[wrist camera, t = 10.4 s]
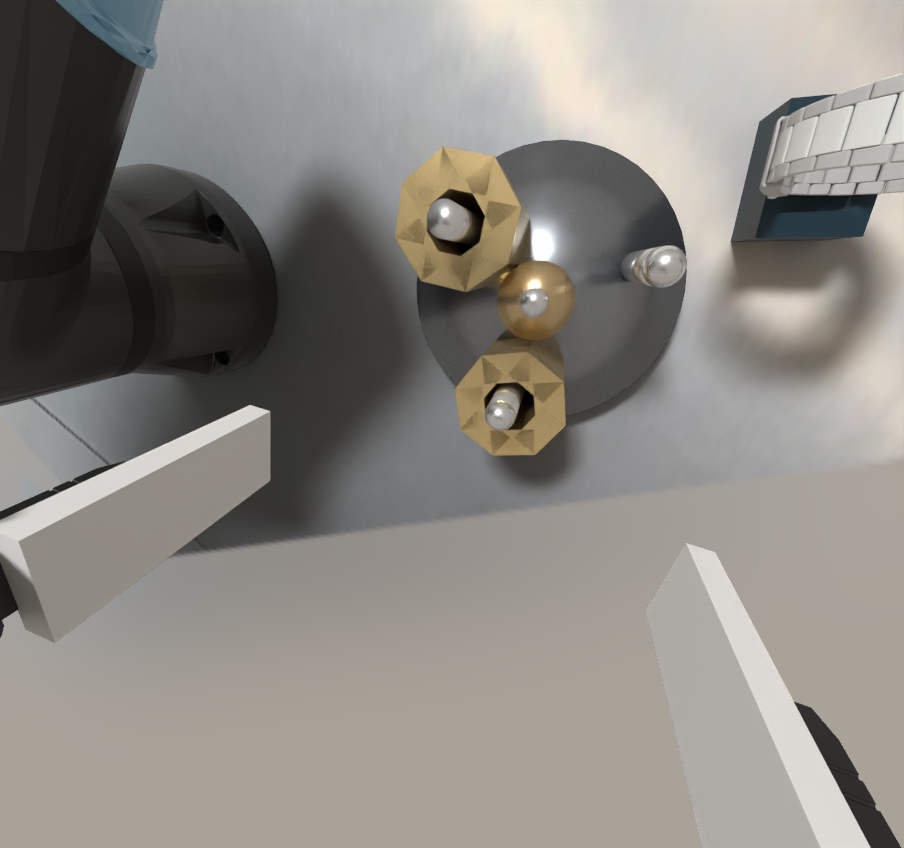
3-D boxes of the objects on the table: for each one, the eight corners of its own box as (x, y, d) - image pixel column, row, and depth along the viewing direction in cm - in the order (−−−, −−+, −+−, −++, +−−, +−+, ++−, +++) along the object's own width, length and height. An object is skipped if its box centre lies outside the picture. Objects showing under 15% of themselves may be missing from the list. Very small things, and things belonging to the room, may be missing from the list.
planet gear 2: (480, 425, 28) (464, 455, 24) (470, 342, 26) (450, 358, 22) (566, 422, 27) (566, 454, 22) (562, 333, 24) (562, 348, 20)
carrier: (407, 376, 30) (347, 419, 22) (448, 125, 23) (384, 48, 15) (618, 437, 27) (641, 512, 19) (732, 175, 21) (844, 116, 12)
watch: (868, 239, 20) (1151, 215, 11) (695, 242, 22) (799, 224, 12) (915, 106, 18) (1326, -79, 8) (720, 122, 20) (868, -13, 10)
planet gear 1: (421, 271, 25) (390, 273, 21) (438, 164, 23) (407, 139, 18) (510, 293, 24) (498, 300, 20) (538, 183, 22) (532, 163, 17)
